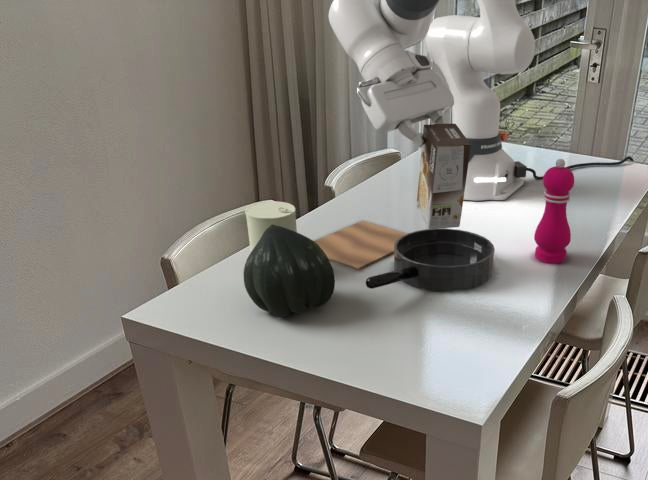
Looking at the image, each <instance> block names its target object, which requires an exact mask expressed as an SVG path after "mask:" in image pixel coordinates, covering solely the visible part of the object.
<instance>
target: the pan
mask: <svg viewBox="0 0 648 480" xmlns="http://www.w3.org/2000/svg"><path fill="white" fill-rule="evenodd" d="M495 251H496V250H495V246H494V244H493V242H492V241H491V240H489V239H488V238H487V237H485V236H483V235H480V234H478V233H476V232H475V233H474V232H471V231H468V230H463V229H456V228H455V229H454V228H436V229H429V228H427V229H420V230H416V231H412V232H408V233H406V235H404V236H402V237H400V238H399V239H398V240H397V241H396V242H395V244H394V253H393V258H394V259H393V260H394V261H393V265H394V267H393V268H394V269H393V271H396V270H400V269H404V268H408V267H412V266H413V267H416V268H417V270H418V276H417V277H414V278H410V279H407V280H403V281H402V282H403V283H405V284H407V285H409V286H412V287H414V288H418V289H422V290H426V291H434V292H458V291H467V290H470V289H475V288H477V287H480V286H483V285H484V284H486V283H487V282H489V281H490V280H491V279H492V278H493V275H494V266H495V265H494V264H495Z"/></svg>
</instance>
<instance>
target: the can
mask: <svg viewBox="0 0 648 480" xmlns="http://www.w3.org/2000/svg"><path fill="white" fill-rule="evenodd" d="M296 211H297V209H296V207H295V206H294V205H293V204H292V203H289V202H285V201H276V200H274V201H273V200H270V201H269V200H268V201H261V202H256V203H253V204H250V205H249V206H247V207H246V208H245V211H244V213H245V219H246V226H247V232H248V243H249V250H250V251H249V252H250V253H251V251H252V250H253V248H254V247H255V246H256V244H257V243H258V241H259V239H260V238H261V236H262V234H263V233H264V231H265V230H266V229H267V228H268V227H270V225H272V224H274V225H276V226H281V227H284V228H287V229H289V230H292V231H295V232H297V233H298V230H297V216H296V215H297V214H296Z"/></svg>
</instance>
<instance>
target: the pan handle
mask: <svg viewBox="0 0 648 480" xmlns="http://www.w3.org/2000/svg"><path fill="white" fill-rule="evenodd" d="M417 276H418V270H417V268H416V267H413V266H412V267H408V268H404V269H400V270H396V271H394V270H392V271H388V272H385V273H381V274H380V273H379V274H377V275H373V276H369V277H368V278H366V280H365V286H366V287H367V288H368V289H370V290H372V289H377V288H380V287H383V286H384V287H385V286H387V285H392V284H395V283H400V282H403V280H407V279H410V278H414V277H417Z"/></svg>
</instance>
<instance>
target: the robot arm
mask: <svg viewBox="0 0 648 480" xmlns="http://www.w3.org/2000/svg"><path fill="white" fill-rule="evenodd" d="M439 2H440V0H332V1H331V3H330V6H329V9H328V15H327V16H328V21H329V24H330V27H331V29H332V31H333V33H334V35H335V37H336V38H337V40H338V42H339V44H340V45H341V47H342V48H343V51H345V53H346V54H347V56H348V57H349V58H350V59H352V60H353V61H354V63H355V64H356V66H357V68H358V72H359V74H360V76H361V78H362V79H363V80H361V81H359V82H358V84H357V86H356V93H357V96H358V97H359V98H360V101H361V105H362V107H363V109H364V112H365V114H366V115H367V118H368V119H369V121H370V124H371V125H372V126H373V128H374V129H375V130H376V131H377V132H379V133H380V134H386V133H389V132H392V131H395V130H398V131H399V132H400V133H401V135H402V136H404V137H405V138H407V139H408V140H410V141H411V142H412V143H413V145H414V146H415V148H422V146H423V145H424V144H425V143H426V141H427V140H426V138H425V137H424V135H423V132H418V131H417V129H415V128H414V127H413V125H414V124H417V123H422V122H425V121H427V120H431V122H432V123H433V124H447V121H446V114H447V112H449V111H450V110H451V118H452V119H451V124H456V125H457V126H458V128H459V129H460V131H461V132H462V133H463V135H464V136H465V137H466V139H467V140H468V141H469V143H470V144H471V149H470V156H469V163H468V170H467V178H466V185H465V192H464V199H463V201H476V202H477V201H490V200H491V201H505V200H507V199H508V198H509V197H511V195H513V194H514V193H515V192H516V191H518V190H519V189H520V188H521V187H522V186H523V185H524V184H525V181H524V179H523V178H526V177H527V172H531V173H532V176H533V178H534V179H535V180H543V177H544V175H543V176H537V171H536V170H535V169H533V168H530V167H527V165H525V164H524V163H522V162H521V161H519V160H518V161H515V160H514V158H512V157H511V156H510V155H509V154H508V153H507V152H506V151H505V150H504V149H503V144H502V142H506V141H507V140H508V137H509V133H508V132H506V131H500V119H501V118H500V117H501V100H500V98H499V96H498V94H497V93H496V92H495V90H492V89H491V88H490V87H489V86H488V85H487V83H486V82H485V81H484V78H483V76H482V73H489V74H496V75H513V74H520V73H523V72H525V71H526V70H527V69H528V68H529V67H530V65H531V63H532V62H533V60H534V57H535V53H536V52H535V51H536V39H535V36H534V34H533V32H532V30H531V28H530V26H528V25H527V24H526V23H525V21H524V19H523V18H522V17H521V15H520V13H519V9H518V8H517V5H516V1H515V0H476V2H477V4H478V8H479V16H472V15H462V14H461V15H460V14H451V15H445V16H439V17H436V18H434V16H435V12H436V9H437V7H438V4H439ZM433 19H434V20H433ZM424 39H425V48H426V51H427V54H428V56H427V55H423V54H420V53H416V52H413V51H411V50H406V49H409V48H411V47H413V46H416V45H417V44H419V43H421V42H422V41H423V40H424ZM433 62H434V63H433ZM434 64H435V65H436V66H437V67H438V69H440V71H441V73H442V74H443V77H444V78H445V80H446V82H445V80H444V79H443V77H442V76H441V74H439V72H437V71H436V70H435V69H433V66H434ZM628 160H630V162H634V161H635V160H634V159H633V157H632V156H629V155H628V156H626V157H625V158H623V159H622V160H620V161H613V162H600V161H599V162H585V163H584V162H583V163H577V164H572V165H568V166H565V167H566V168H568V169H569V170H571V169H574V168H581V167H590V166H619V165H622V164H624V163H625V162H626V161H628Z"/></svg>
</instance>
